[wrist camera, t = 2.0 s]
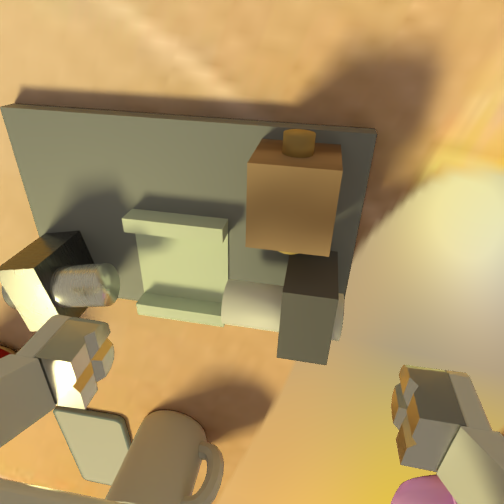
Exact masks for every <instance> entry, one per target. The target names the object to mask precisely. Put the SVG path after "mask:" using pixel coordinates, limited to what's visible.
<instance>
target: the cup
mask: <svg viewBox="0 0 504 504" xmlns="http://www.w3.org/2000/svg"><path fill="white" fill-rule="evenodd" d="M202 459H203V460H206V461H207V474H206V477H205V480H204V482H203V484H202V486H201V488H200V489H199V491H198V492H197V493H196V494H195V495H193V496H191V495H192V492H193V488H194V485H195V482H196V478H197V475H198V472H199V468H200V465H201V462H202ZM223 469H224V461H223V456H222V453H221V452H220V450H219V449H218V447H217V446H215V445H213V444H211V443H209V442H207V439H206V434H205V431H204V430H203V428H202V426H201V425H200V424H199V423H198V422H197V421H195V420H194V419H193V418H191V417H189V416H187V415H185V414H183V413H180V412H177V411H172V410H158V411H155V412H152V413H151V414H149V415H148V416H146V417H145V418H144V420H143V422H142V423H141V425H140V427H139V429H138V431H137V433H136V435H135V437H134V439H133V441H132V444H131V446H130V448H129V450H128V452H127V454H126V456H125V458H124V460H123V462H122V465H121V467H120V469H119V471H118V473H117V475H116V477H115V479H114V481H113V483H112V486H111V488H110V490H109V492H108V494H107V496H106V498H105V500H110V501H115V502H120V503H125V504H211V503H212V502H213V501H214V499H215V497H216V495H217V493H218V490H219V488H220V485H221V481H222V476H223Z"/></svg>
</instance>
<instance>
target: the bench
mask: <svg viewBox="0 0 504 504" xmlns="http://www.w3.org/2000/svg"><path fill="white" fill-rule="evenodd" d="M0 109H1V112H2V116H3V119H4V122H5V125H6V129H7V132H8V135H9V139H10V142H11V145H12V148H13V152H14V155H15V158H16V162H17V165H18V168H19V171H20V175H21V178H22V181H23V185H24V188H25V191H26V194H27V198H28V201H29V204H30V208H31V211H32V214H33V217H34V221H35V224H36V227H37V231H38V234H39V237H41V236H42V235H43V234H45V233H56V232H67V231H78V230H80V232H81V234H82V237H83V239H84V241H85V243H86V246H87V248H88V250H89V252H90V254H91V257H92V259H93V261H94V263H95V264H101V263H109V264H111V265H113V266H114V267H115V268H116V270H117V272H118V274H119V278H120V291H119V295H118V298H122V299H129V300H136V301H138V302H137V304H136V306H137V312H138V314H139V315H145V316H152V317H159V318H166V319H172V320H179V321H186V322H193V323H199V324H206V325H213V326H220V327H224V325H225V324H227V325H233V326H240V327H247V328H254V329H261V330H267V331H274V332H279V337H278V348H277V358H283V359H289V360H296V361H302V362H309V363H315V364H321V365H326V364H327V359H328V354H329V349H330V343H331V340H335V341H339V339H340V336H341V331H342V324H343V316H344V299H345V293H346V288H347V284H348V279H349V274H350V269H351V264H352V258H353V253H354V248H355V243H356V238H357V233H358V228H359V223H360V218H361V213H362V208H363V203H364V198H365V193H366V188H367V183H368V178H369V173H370V168H371V162H372V157H373V152H374V147H375V142H376V137H377V133H376V130H375V129H371V128H357V127H342V126H328V125H314V124H299V123H285V122H271V121H256V120H242V119H228V118H213V117H199V116H185V115H170V114H156V113H142V112H127V111H113V110H99V109H85V108H70V107H56V106H42V105H27V104H10V105H6V106H2V107H0ZM289 129H304V130H310V131H313V132H315V133H316V138H315V143H327V144H340V145H341V153H342V167H343V173H342V179H341V185H340V192H339V198H338V204H337V210H336V217H335V223H334V229H333V236H332V242H331V248H330V254H329V257H326V256H317V255H309V254H300V253H298V254H292V255H290V254H284V253H281V252H279V251H275V250H266V249H258V248H249V247H245V244H246V198H247V162H248V161H249V159H250V157H251V156H252V154H253V153H254V151H255V149H256V148H257V146H258V144H259V143H260V141H261V139H274V140H283V133H284V131H285V130H289Z"/></svg>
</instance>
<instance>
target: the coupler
mask: <svg viewBox="0 0 504 504" xmlns="http://www.w3.org/2000/svg"><path fill="white" fill-rule="evenodd" d="M315 138H316V133H315V132H313V131H310V130H304V129H289V130H285V131H284V133H283V140H274V139H261V141H260V143H259V144H258V146H257V148H256V149H255V151H254V153H253V154H252V156H251V157H250V159H249V161H248V162H247V198H246V244H245V247H249V248H258V249H266V250H275V251H279V252H281V253H284V254H290V255H292V254H298V253H300V254H309V255H317V256H326V257H329V254H330V248H331V242H332V236H333V229H334V223H335V217H336V210H337V204H338V198H339V192H340V185H341V179H342V173H343V167H342V153H341V145H340V144H327V143H315Z"/></svg>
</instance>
